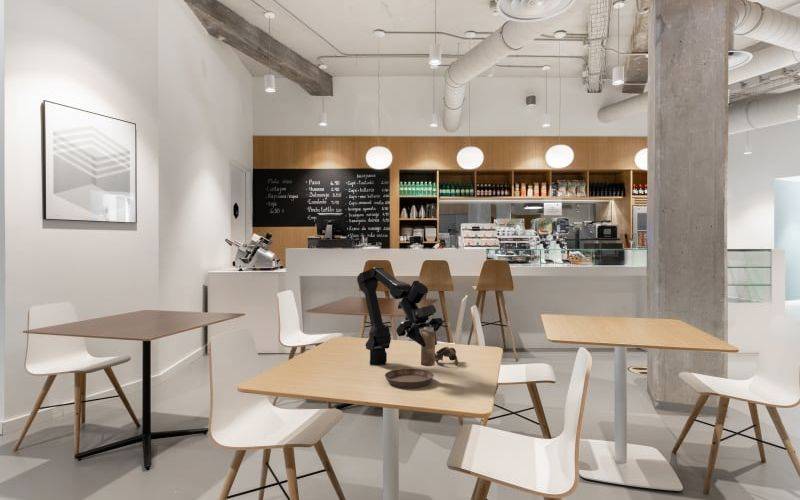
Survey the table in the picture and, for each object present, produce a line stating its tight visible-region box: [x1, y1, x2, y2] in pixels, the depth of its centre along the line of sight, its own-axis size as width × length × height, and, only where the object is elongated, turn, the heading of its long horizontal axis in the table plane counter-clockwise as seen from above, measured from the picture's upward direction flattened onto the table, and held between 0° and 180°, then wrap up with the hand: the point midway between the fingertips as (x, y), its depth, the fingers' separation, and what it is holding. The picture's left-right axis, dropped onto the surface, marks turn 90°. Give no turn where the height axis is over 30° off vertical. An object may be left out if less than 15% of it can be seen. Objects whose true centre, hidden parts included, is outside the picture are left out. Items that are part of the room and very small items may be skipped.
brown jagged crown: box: [435, 346, 459, 367], centre depth 201 cm, size 12×10×8 cm
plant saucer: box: [384, 368, 434, 389], centre depth 173 cm, size 18×18×3 cm
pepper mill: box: [420, 326, 436, 367], centre depth 173 cm, size 5×5×14 cm
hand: (430, 345), depth 172 cm, fingers closed on pepper mill, 5 cm apart
